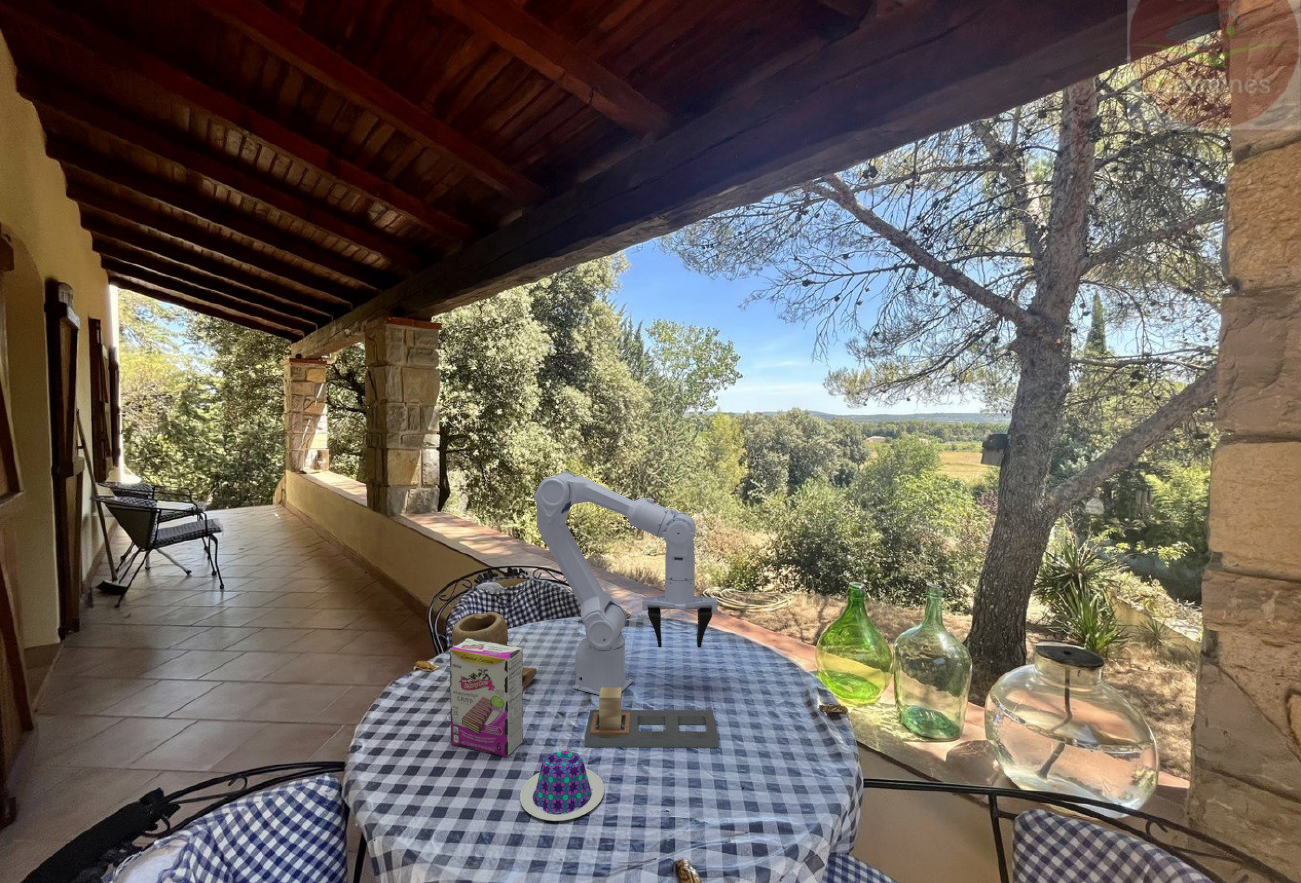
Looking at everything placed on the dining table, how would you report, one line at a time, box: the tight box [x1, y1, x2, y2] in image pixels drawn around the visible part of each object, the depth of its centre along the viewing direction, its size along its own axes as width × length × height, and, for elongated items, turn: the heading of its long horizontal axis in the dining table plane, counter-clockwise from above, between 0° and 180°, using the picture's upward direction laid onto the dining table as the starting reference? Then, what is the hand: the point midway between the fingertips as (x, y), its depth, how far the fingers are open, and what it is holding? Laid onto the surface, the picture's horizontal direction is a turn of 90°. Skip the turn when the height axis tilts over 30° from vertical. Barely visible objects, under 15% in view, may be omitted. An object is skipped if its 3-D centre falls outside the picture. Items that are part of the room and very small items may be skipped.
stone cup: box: [451, 611, 538, 690], centre depth 114 cm, size 15×12×15 cm
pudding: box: [519, 750, 605, 822], centre depth 83 cm, size 12×12×5 cm
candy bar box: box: [449, 638, 524, 758], centre depth 95 cm, size 11×5×16 cm, turn 71°
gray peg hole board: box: [583, 709, 720, 748], centre depth 99 cm, size 22×9×2 cm, turn 90°
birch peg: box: [598, 687, 623, 730], centre depth 99 cm, size 4×4×7 cm
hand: (679, 645), depth 113 cm, fingers open, 7 cm apart
